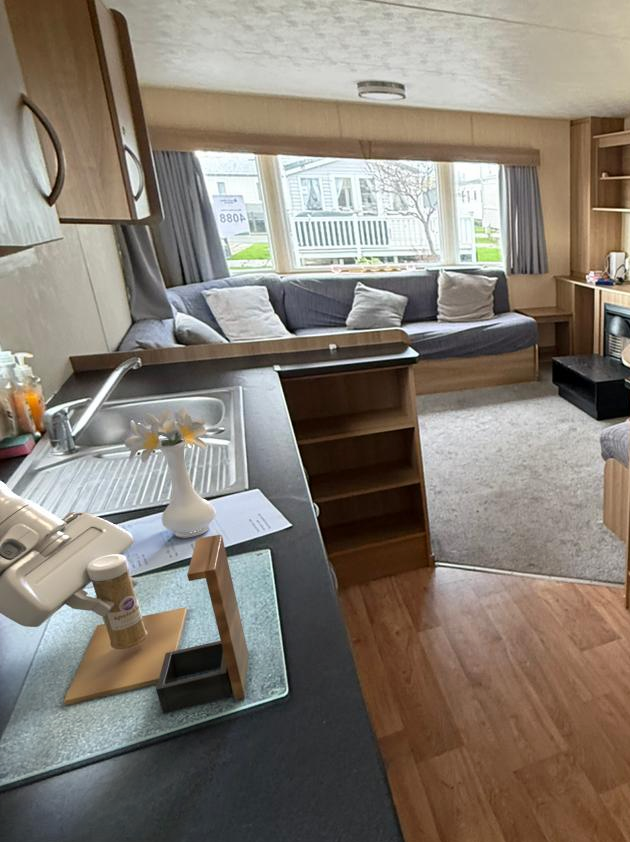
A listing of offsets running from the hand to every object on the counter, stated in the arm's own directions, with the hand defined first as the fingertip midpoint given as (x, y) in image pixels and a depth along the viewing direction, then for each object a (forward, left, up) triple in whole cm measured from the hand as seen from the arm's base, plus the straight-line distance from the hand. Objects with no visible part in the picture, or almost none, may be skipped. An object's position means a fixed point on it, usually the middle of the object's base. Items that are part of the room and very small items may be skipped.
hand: (121, 599), depth 93 cm
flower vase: (+2, +41, -10) cm, 42 cm away
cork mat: (-1, 0, -9) cm, 9 cm away
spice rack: (+9, -12, -9) cm, 18 cm away
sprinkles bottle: (-1, 0, -7) cm, 7 cm away
